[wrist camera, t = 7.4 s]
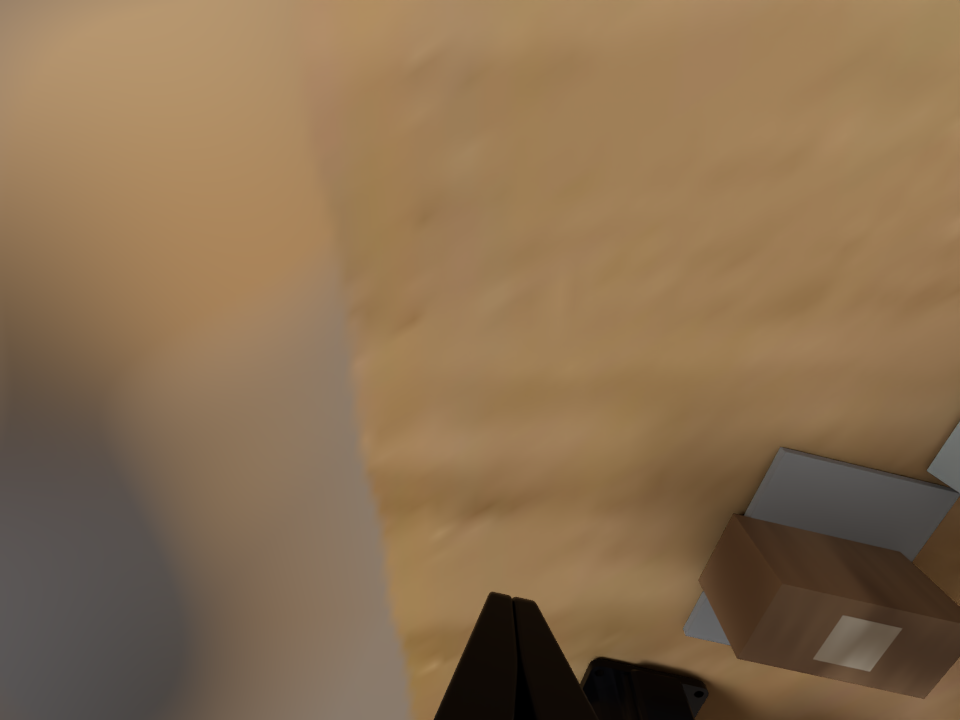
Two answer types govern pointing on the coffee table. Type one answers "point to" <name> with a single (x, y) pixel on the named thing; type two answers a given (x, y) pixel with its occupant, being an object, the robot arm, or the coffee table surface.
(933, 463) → the bluegrey block
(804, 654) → the walnut block
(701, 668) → the coffee table surface
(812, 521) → the felt mat
